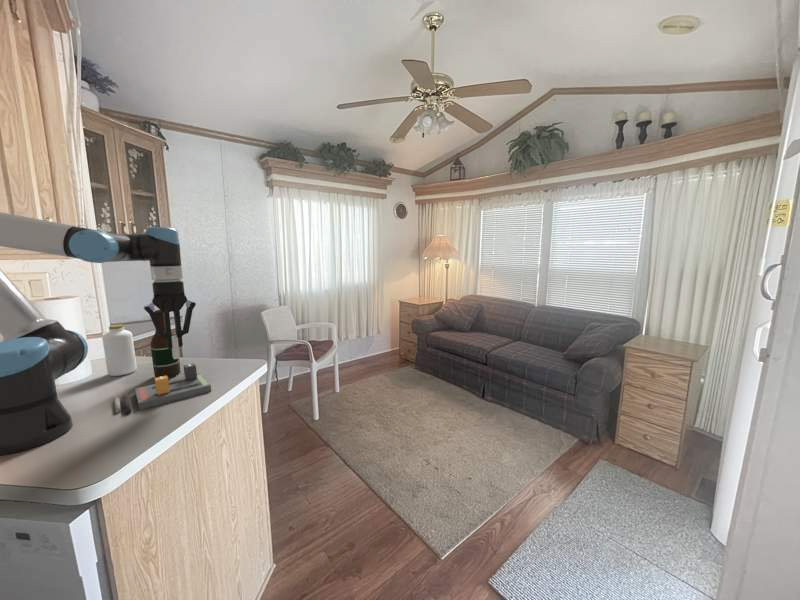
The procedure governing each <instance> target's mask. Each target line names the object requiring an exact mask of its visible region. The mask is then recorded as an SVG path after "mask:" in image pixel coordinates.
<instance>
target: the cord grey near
mask: <svg viewBox="0 0 800 600" xmlns="http://www.w3.org/2000/svg"><path fill="white" fill-rule="evenodd" d="M113 401H114V402H113V403H114V412H115V413H117V414H119V413H121V412H122V409H121V399H120V397H118V396H117V397H115V398H114V399H113Z"/></svg>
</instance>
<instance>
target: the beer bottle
mask: <svg viewBox="0 0 800 600" xmlns="http://www.w3.org/2000/svg"><path fill="white" fill-rule="evenodd" d="M153 312H154V313H155V315H156V317H157V319H158V322H159V324H160V326H161V329H162V331H163V333H165V325H164V316H163V312H162V311H161V310H160V309H155V310H154V311H153ZM154 331H155V333H154V334H153V336H152V337H151V341H150V351H151V358H152V359H151V361H152V367H153V374H154V378H157V377H161V376H166V375H167V377H168V379H170V377H171V378H173V376H174V377H176V375H177V376H178V375H179V374H180V373H181V363H180V358H179V359H174V358H173V355H172V348H170V349H169V348H168V347H167V341H166V338H164V337H160V336H159V335H158V333H157V331H156V329H155V330H154ZM171 334H172V336H175V335H174V333H172V332H171Z"/></svg>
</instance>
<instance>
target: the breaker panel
mask: <svg viewBox="0 0 800 600" xmlns="http://www.w3.org/2000/svg"><path fill="white" fill-rule="evenodd" d="M168 381H169V389H170V392H168V393H164V394H160V395H157V392H156V385H155V383H154V384H149V385H144V386H140V387H136V388H134V393H135V397H136V402H137V405H138V408H139V409H138V410H139V411H140V410H144V409H147V408H153V407H155V406H161V405H164V404H167V403H172V402H176V401H177V400H182V399H185V398H186V399H187V398H190V397H194V396H197V395H201V394H207V393H209V392H212V386H211V385H212V384H211V383H209V381H208V380H207V379H206V378H205V377H204V376H203V374H202V373H197V378H196V379H191V380H186V379H185V376H184V377H183V376H182V377H178V378H175V379H171V380H168Z"/></svg>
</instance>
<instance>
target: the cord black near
mask: <svg viewBox="0 0 800 600" xmlns="http://www.w3.org/2000/svg"><path fill="white" fill-rule="evenodd" d="M122 403H123V405H122V406H123V411H124V414H125V415H130V414H131V413H132V409H131V407H132V406H131V402H130V397H129V396H128V395H123V396H122Z"/></svg>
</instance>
